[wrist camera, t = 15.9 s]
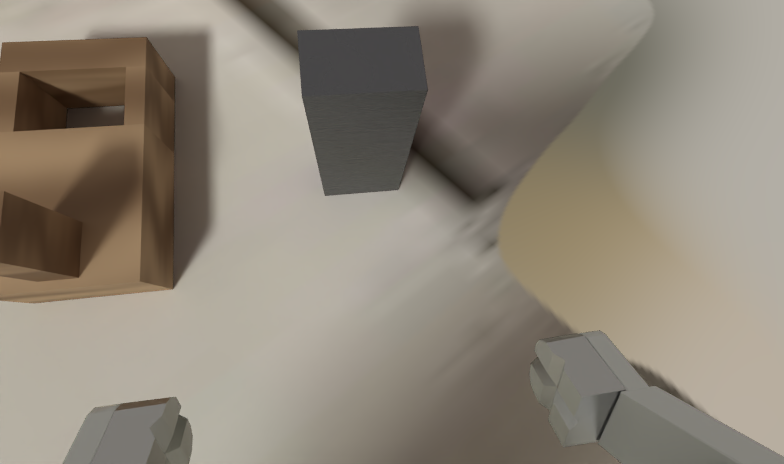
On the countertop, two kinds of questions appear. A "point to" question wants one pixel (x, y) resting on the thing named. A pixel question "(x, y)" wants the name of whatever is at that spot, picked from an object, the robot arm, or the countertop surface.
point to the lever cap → (362, 103)
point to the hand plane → (85, 171)
